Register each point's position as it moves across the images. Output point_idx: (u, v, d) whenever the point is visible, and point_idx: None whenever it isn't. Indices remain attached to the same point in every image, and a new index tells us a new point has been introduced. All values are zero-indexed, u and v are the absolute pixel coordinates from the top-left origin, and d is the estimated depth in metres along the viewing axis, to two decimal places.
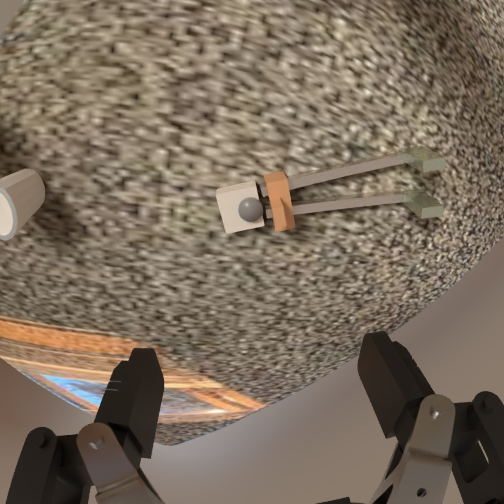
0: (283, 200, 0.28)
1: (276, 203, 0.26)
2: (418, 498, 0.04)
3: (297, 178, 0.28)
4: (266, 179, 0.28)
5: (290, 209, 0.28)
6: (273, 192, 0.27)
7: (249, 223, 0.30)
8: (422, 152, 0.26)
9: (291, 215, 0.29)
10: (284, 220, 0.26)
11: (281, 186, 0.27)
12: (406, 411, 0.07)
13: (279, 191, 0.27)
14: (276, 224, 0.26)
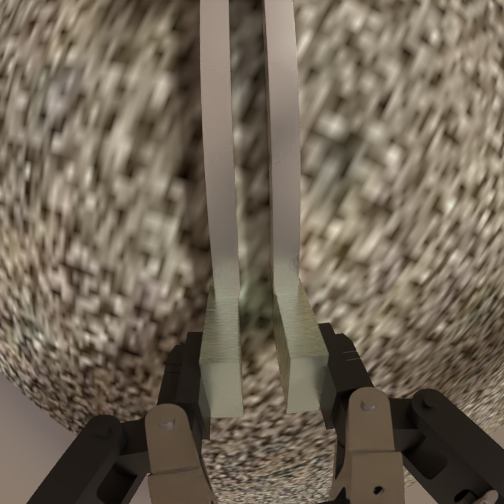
0: None
1: None
2: (377, 496, 0.04)
3: None
4: None
5: None
6: None
7: None
8: None
9: None
10: None
11: None
12: (340, 402, 0.08)
13: None
14: None
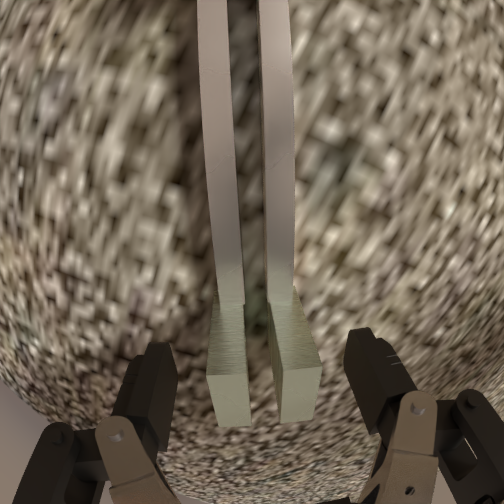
0: None
1: None
2: (406, 496, 0.04)
3: None
4: None
5: None
6: None
7: None
8: None
9: None
10: None
11: None
12: (388, 406, 0.07)
13: None
14: None
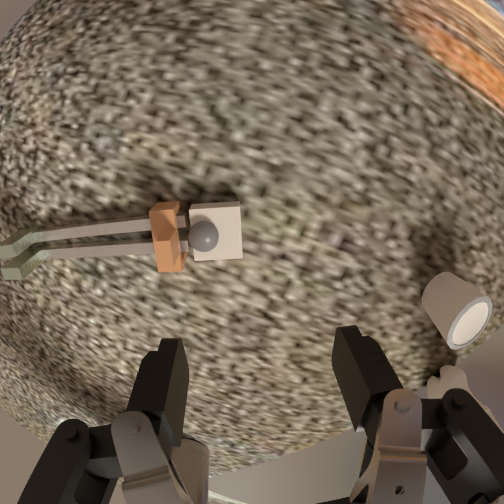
0: None
1: None
2: (397, 496, 0.04)
3: (146, 253, 0.24)
4: None
5: (154, 236, 0.22)
6: None
7: (207, 216, 0.23)
8: None
9: (153, 228, 0.22)
10: (159, 249, 0.20)
11: None
12: (373, 404, 0.07)
13: None
14: (168, 245, 0.20)
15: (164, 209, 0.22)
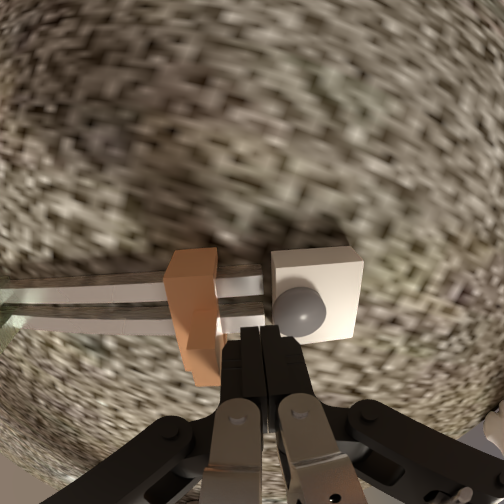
0: None
1: None
2: None
3: None
4: None
5: (176, 321, 0.12)
6: None
7: (309, 278, 0.13)
8: None
9: (173, 308, 0.12)
10: (192, 361, 0.10)
11: None
12: (276, 405, 0.08)
13: None
14: (212, 357, 0.10)
15: (194, 274, 0.11)
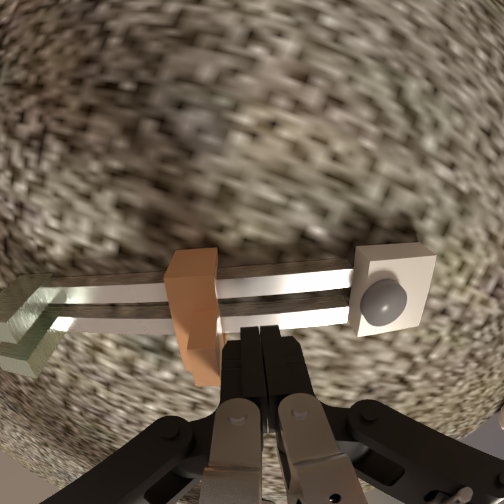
0: None
1: None
2: None
3: None
4: None
5: (176, 320, 0.12)
6: None
7: (394, 270, 0.13)
8: None
9: (174, 308, 0.12)
10: (192, 361, 0.10)
11: None
12: (276, 405, 0.08)
13: None
14: (213, 357, 0.10)
15: (194, 274, 0.11)
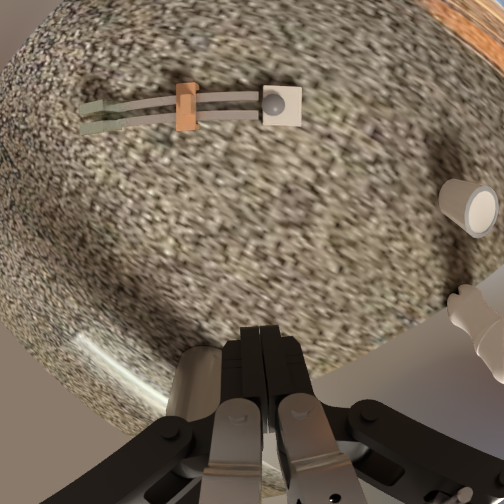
0: None
1: (187, 114, 0.26)
2: None
3: (222, 119, 0.29)
4: (196, 129, 0.29)
5: (177, 102, 0.27)
6: (190, 120, 0.27)
7: (277, 91, 0.27)
8: (100, 132, 0.28)
9: (177, 96, 0.26)
10: (181, 100, 0.25)
11: (182, 124, 0.28)
12: (276, 406, 0.08)
13: (185, 120, 0.28)
14: (189, 97, 0.24)
15: (188, 83, 0.26)
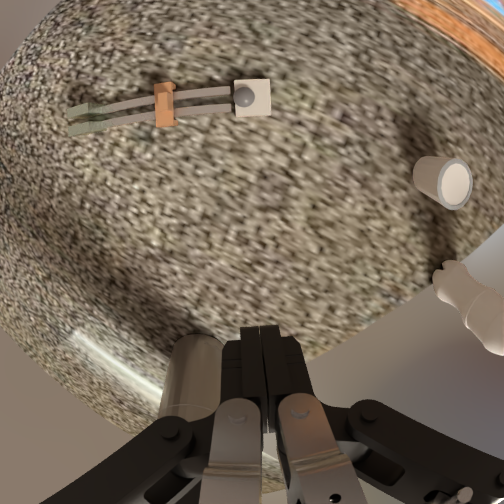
0: None
1: (165, 111, 0.28)
2: None
3: (198, 113, 0.31)
4: (174, 125, 0.31)
5: (156, 100, 0.28)
6: (168, 116, 0.29)
7: (247, 84, 0.29)
8: (87, 133, 0.29)
9: (156, 95, 0.28)
10: (159, 98, 0.26)
11: (161, 121, 0.29)
12: (276, 405, 0.08)
13: (163, 117, 0.29)
14: (165, 95, 0.26)
15: (165, 82, 0.28)
